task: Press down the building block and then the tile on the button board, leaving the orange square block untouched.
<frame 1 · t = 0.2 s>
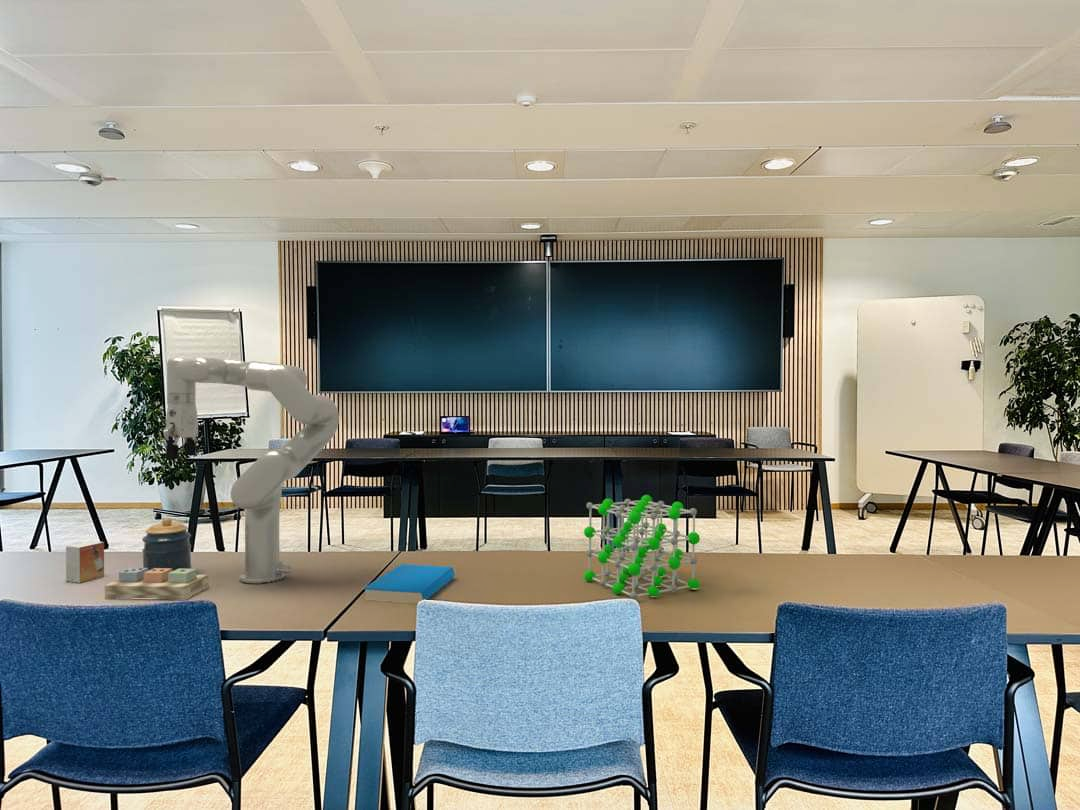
hand: (181, 456, 202), 36 cm above the table, tool pointing down, fingers open, 9 cm apart
tile 1: (182, 576, 187), point 5 cm above the table, slide at 0.0 cm
button board: (158, 592, 188), on the table
molecular structure model: (640, 586, 195), on the table
small box: (85, 579, 201), on the table
canister: (167, 576, 205), on the table
orange square block 2: (158, 575, 188), point 5 cm above the table, slide at 0.0 cm
building block 3: (133, 575, 188), point 5 cm above the table, slide at 0.0 cm
book: (411, 591, 192), on the table
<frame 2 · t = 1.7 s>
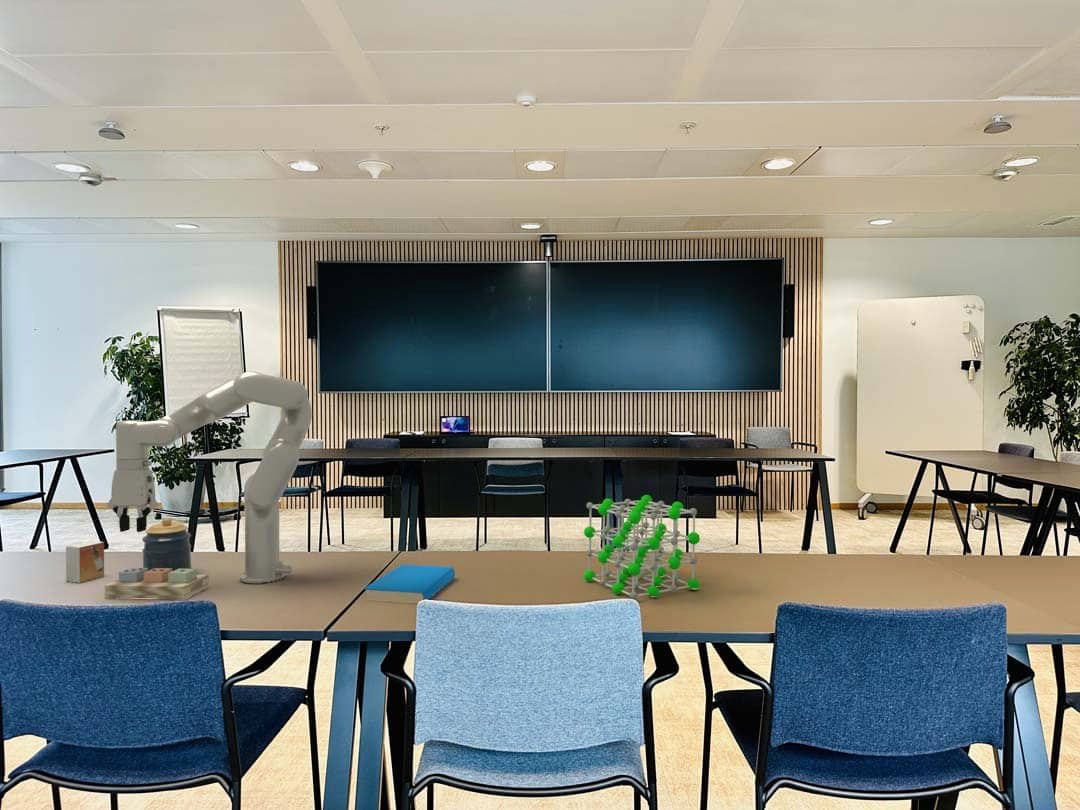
hand: (133, 530, 188), 17 cm above the table, tool pointing down, fingers open, 4 cm apart
nothing on the table moved.
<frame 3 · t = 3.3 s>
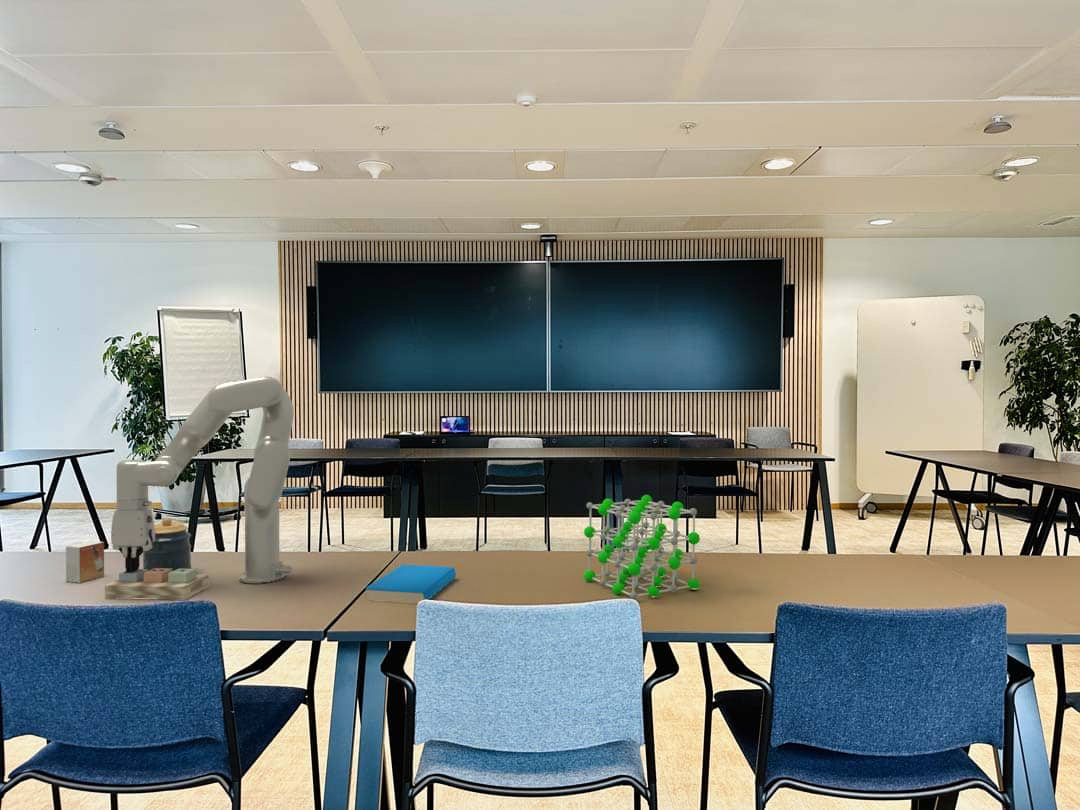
hand: (132, 570, 188), 6 cm above the table, tool pointing down, fingers closed
building block 3: (133, 576, 188), point 4 cm above the table, slide at 0.4 cm, touching gripper
everything else where it was.
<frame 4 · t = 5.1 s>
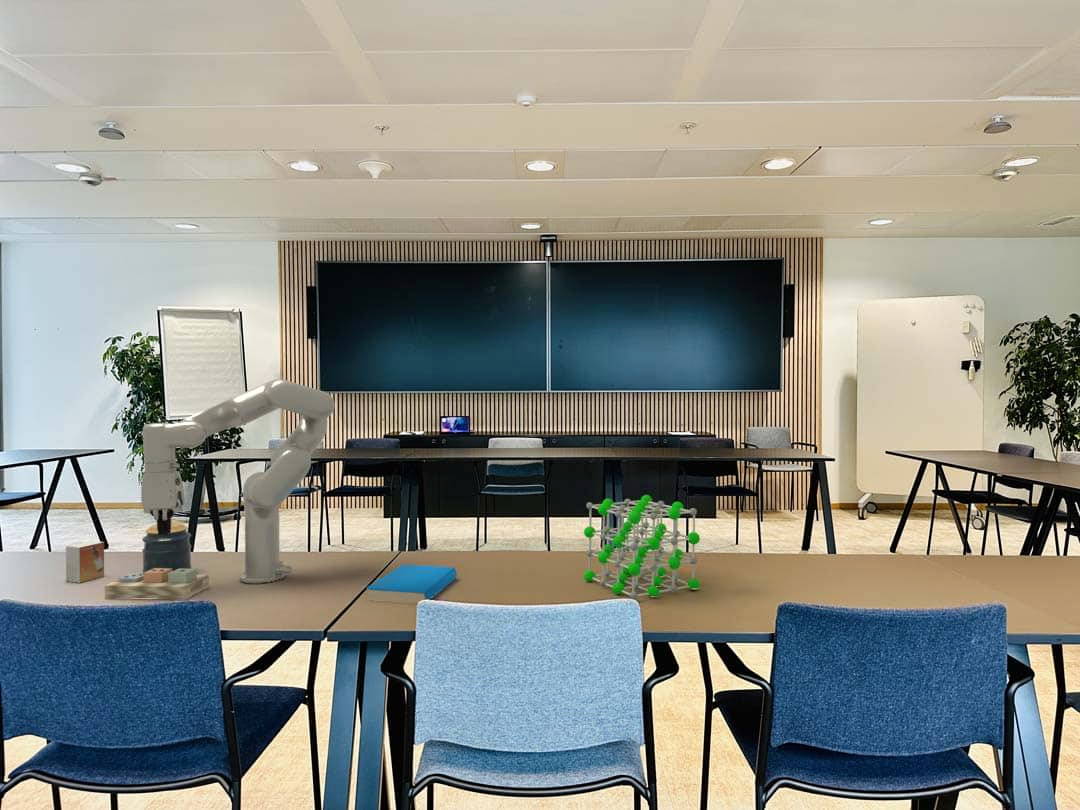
hand: (164, 533, 188), 16 cm above the table, tool pointing down, fingers closed
building block 3: (133, 580, 188), point 3 cm above the table, slide at 1.6 cm
everything else where it was.
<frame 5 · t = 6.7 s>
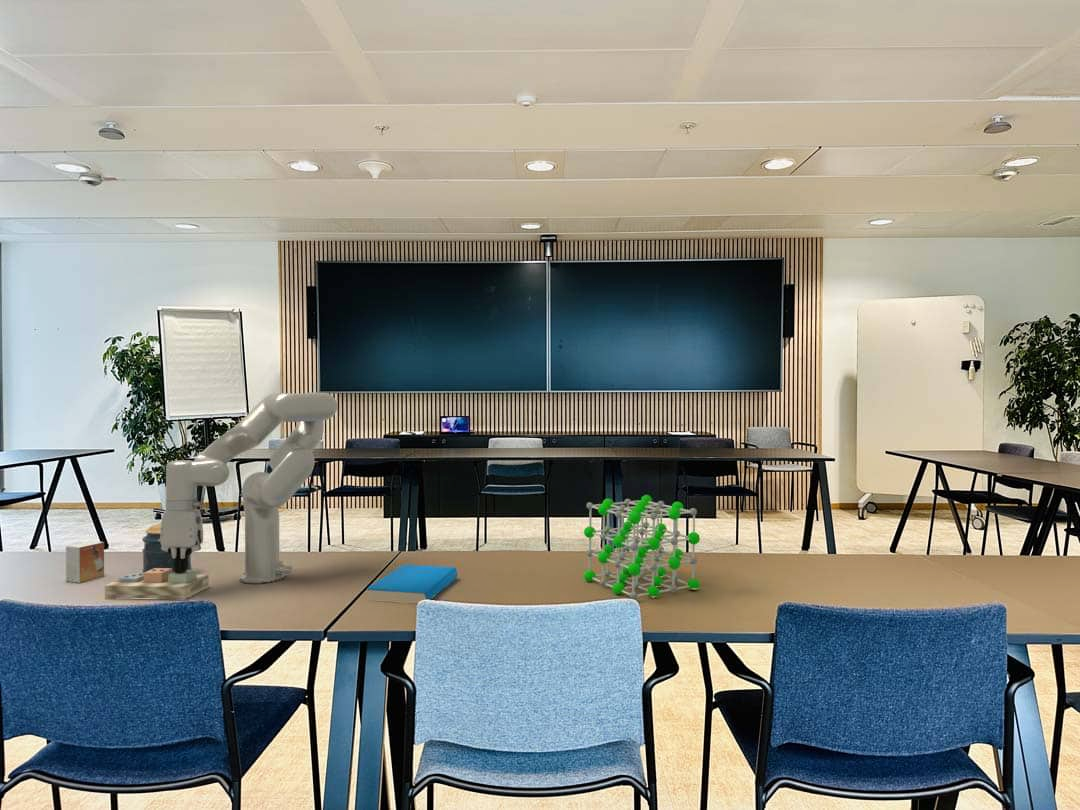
hand: (180, 571, 187), 6 cm above the table, tool pointing down, fingers closed
tile 1: (182, 577, 187), point 4 cm above the table, slide at 0.4 cm, touching gripper
everything else where it was.
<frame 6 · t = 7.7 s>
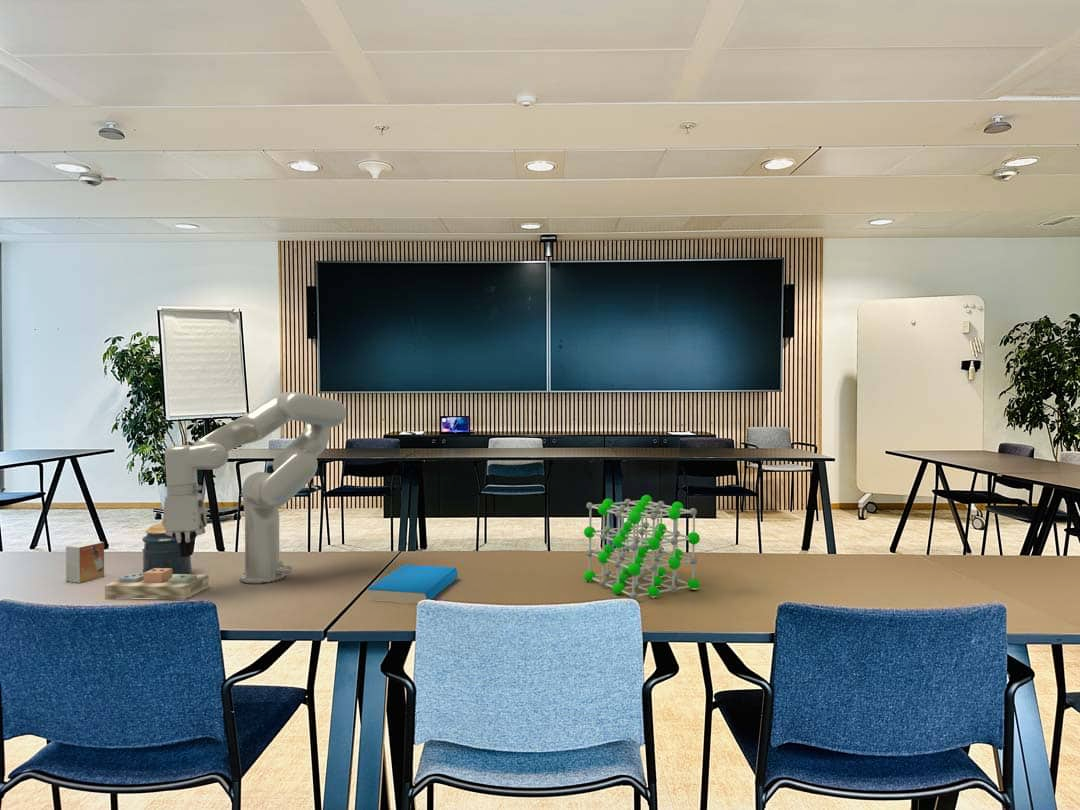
hand: (186, 555, 188), 10 cm above the table, tool pointing down, fingers closed
tile 1: (182, 581, 187), point 3 cm above the table, slide at 1.6 cm
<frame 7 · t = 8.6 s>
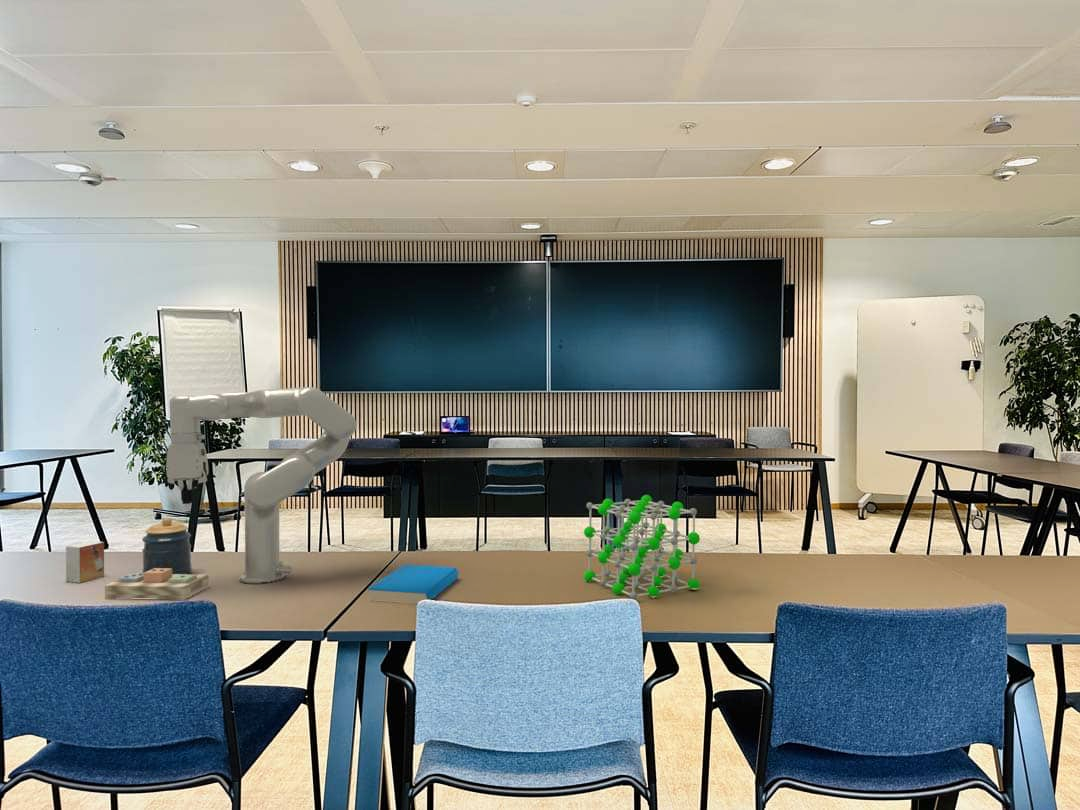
hand: (188, 502, 194), 24 cm above the table, tool pointing down, fingers closed
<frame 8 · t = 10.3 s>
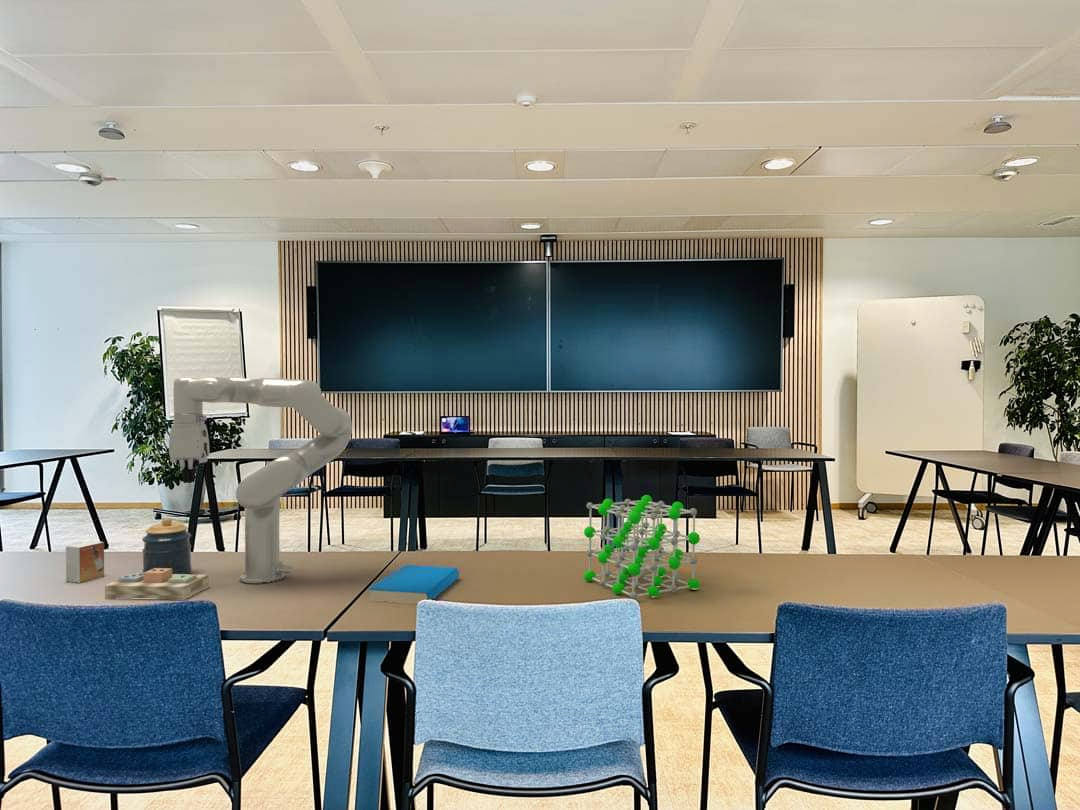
hand: (189, 482, 199), 29 cm above the table, tool pointing down, fingers closed
at the end: building block 3 slide at 1.6 cm; tile 1 slide at 1.6 cm; orange square block 2 slide at 0.0 cm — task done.
